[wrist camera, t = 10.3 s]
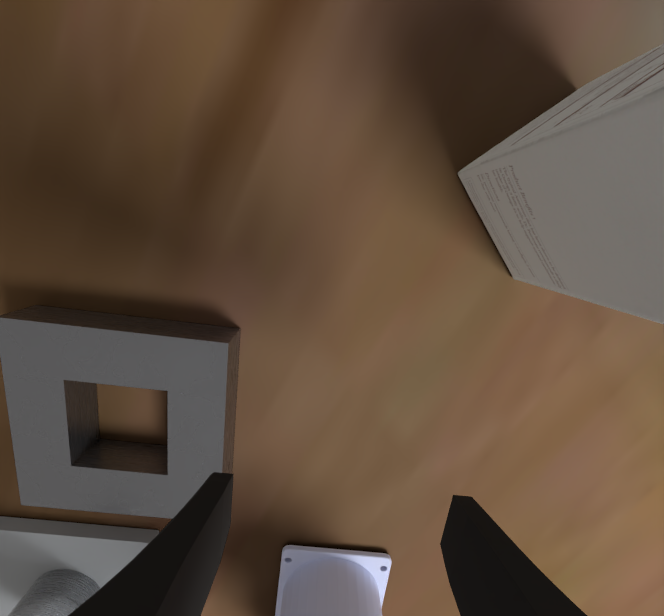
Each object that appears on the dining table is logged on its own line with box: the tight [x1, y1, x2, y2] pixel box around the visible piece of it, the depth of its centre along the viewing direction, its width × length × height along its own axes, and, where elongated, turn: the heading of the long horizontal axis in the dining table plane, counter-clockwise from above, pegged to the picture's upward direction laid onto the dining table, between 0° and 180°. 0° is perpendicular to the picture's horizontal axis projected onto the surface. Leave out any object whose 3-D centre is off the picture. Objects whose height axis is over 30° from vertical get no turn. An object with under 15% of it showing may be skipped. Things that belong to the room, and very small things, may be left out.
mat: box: [0, 516, 159, 616], centre depth 25 cm, size 12×12×1 cm
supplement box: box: [458, 44, 664, 324], centre depth 12 cm, size 7×7×13 cm
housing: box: [0, 305, 241, 519], centre depth 20 cm, size 12×12×2 cm
